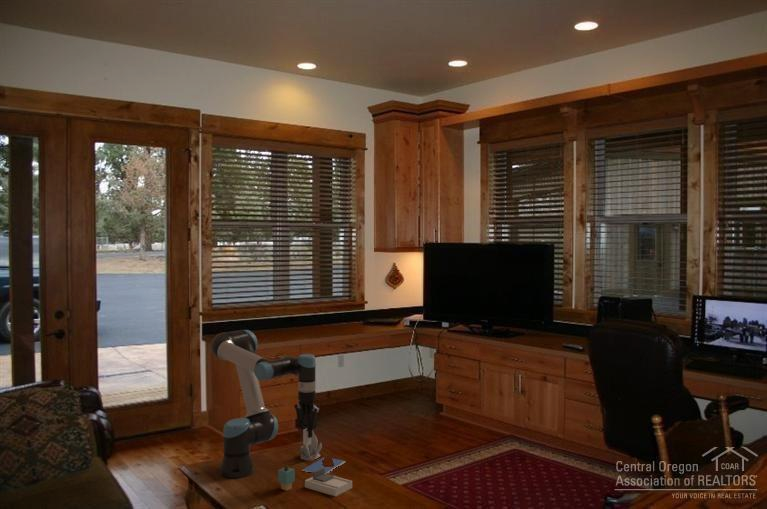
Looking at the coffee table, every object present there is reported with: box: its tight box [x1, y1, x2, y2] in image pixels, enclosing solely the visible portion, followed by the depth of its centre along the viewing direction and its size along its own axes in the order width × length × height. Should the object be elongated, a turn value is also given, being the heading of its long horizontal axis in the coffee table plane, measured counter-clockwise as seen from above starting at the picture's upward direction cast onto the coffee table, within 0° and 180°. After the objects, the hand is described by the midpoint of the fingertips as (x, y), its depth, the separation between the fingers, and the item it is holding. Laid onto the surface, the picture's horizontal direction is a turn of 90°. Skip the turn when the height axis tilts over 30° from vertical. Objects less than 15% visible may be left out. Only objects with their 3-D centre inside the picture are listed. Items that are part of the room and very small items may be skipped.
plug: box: [277, 465, 296, 491], centre depth 272 cm, size 5×5×10 cm
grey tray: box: [304, 475, 353, 497], centre depth 273 cm, size 17×11×4 cm, turn 55°
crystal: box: [299, 429, 323, 461], centre depth 311 cm, size 10×13×15 cm
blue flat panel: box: [301, 456, 346, 474], centre depth 299 cm, size 19×13×1 cm, turn 153°
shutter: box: [312, 468, 334, 482], centre depth 275 cm, size 6×6×3 cm
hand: (307, 444), depth 280 cm, fingers closed
